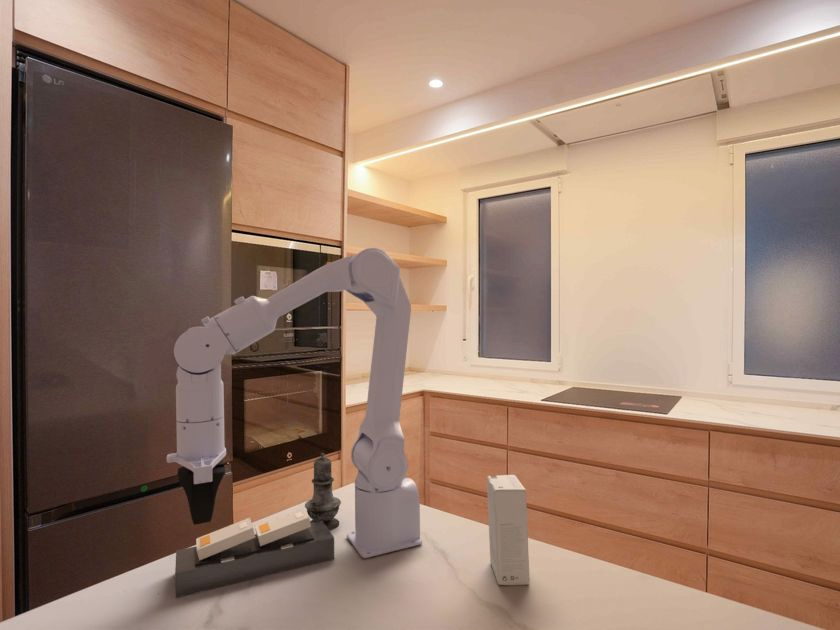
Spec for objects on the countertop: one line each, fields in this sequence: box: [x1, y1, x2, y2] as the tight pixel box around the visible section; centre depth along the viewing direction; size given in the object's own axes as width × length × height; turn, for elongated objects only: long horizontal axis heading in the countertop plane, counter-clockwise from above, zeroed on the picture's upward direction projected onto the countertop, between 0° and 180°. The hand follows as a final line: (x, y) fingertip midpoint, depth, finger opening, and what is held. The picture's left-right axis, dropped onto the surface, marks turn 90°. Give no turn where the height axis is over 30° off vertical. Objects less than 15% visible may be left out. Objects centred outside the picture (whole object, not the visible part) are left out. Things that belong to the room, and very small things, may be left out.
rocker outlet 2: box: [254, 507, 311, 546], centre depth 67 cm, size 7×4×2 cm, turn 117°
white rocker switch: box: [195, 517, 256, 560], centre depth 63 cm, size 7×4×2 cm, turn 117°
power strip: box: [174, 521, 335, 599], centre depth 65 cm, size 20×6×3 cm, turn 116°
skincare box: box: [486, 474, 530, 586], centre depth 63 cm, size 6×4×12 cm
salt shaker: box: [304, 452, 342, 532], centre depth 78 cm, size 6×6×12 cm
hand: (202, 521), depth 62 cm, fingers closed
